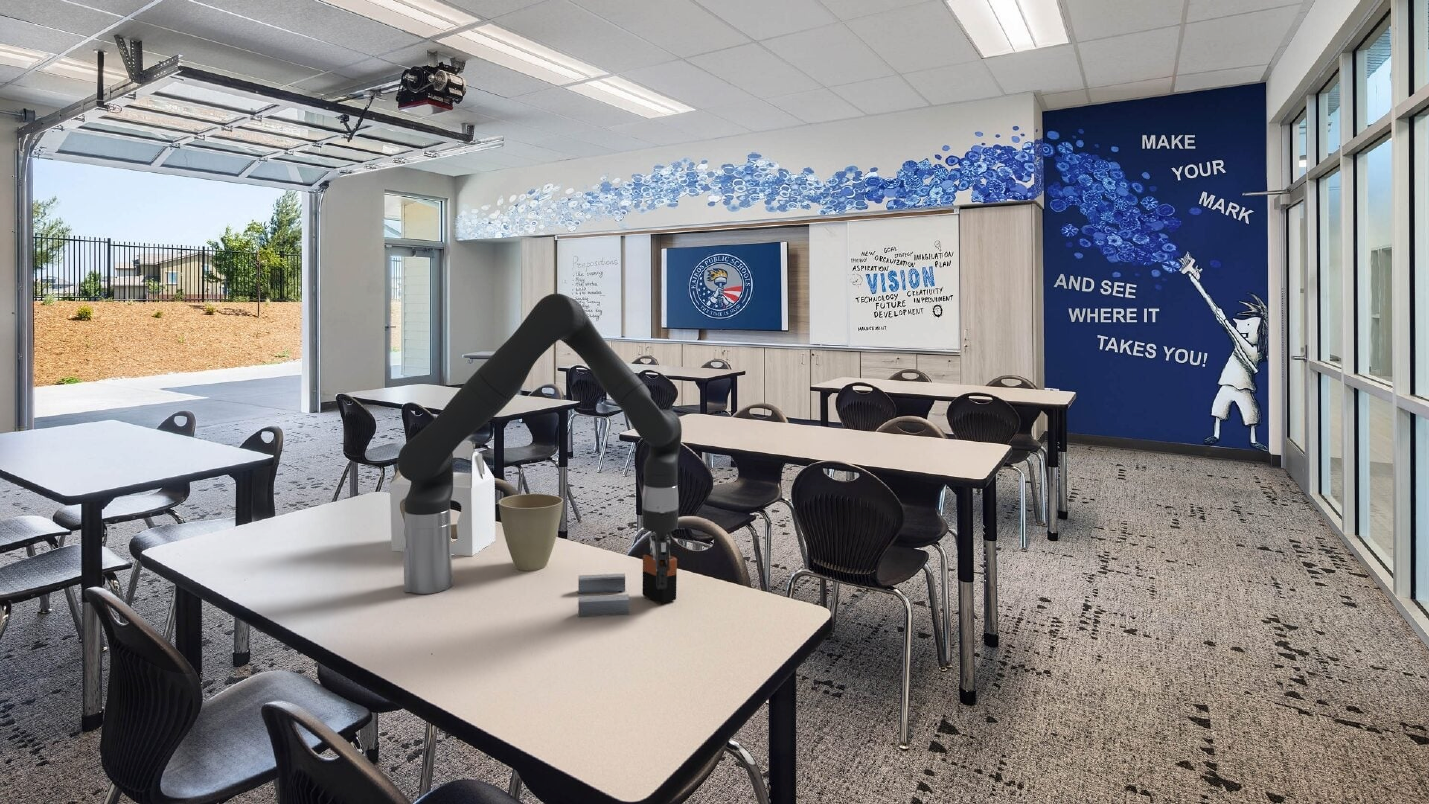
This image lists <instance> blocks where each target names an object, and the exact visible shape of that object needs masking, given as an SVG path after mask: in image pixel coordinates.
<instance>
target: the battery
mask: <svg viewBox="0 0 1429 804" xmlns="http://www.w3.org/2000/svg"><path fill="white" fill-rule="evenodd" d="M677 564H678V559H677V557H674V556H671V555H670V559H669V567H670V569H669V571H667V588H666V589H657V588H656V570H655V567H656V562H655V561H654V560H653V550H651V551H650V552H648V553H645V554H643V555H642V596H644V597H645V598H647V599H649V600H651V601H654V602H656V603H657V604H660V605H661V604H662V605H663V604H666V603H670V602H673V601H675V600H677V582H678V581H677V579H678V578H677V577H678V576H677V574H678V573H677V572H678V570H677V567H678V565H677ZM660 565H665V561H664V560H662V561H660Z"/></svg>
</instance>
